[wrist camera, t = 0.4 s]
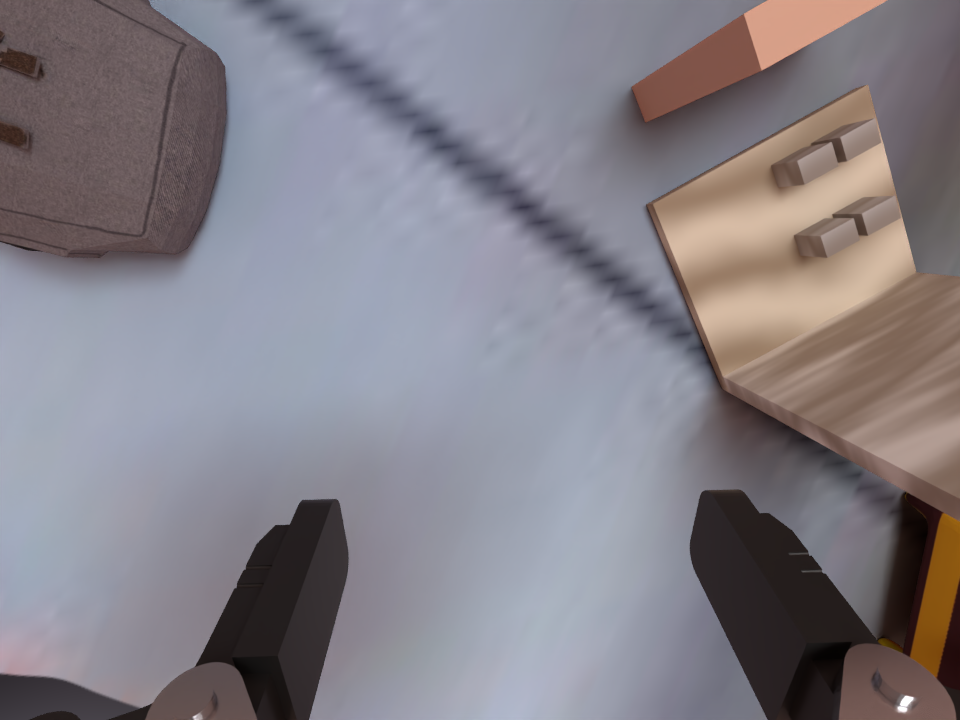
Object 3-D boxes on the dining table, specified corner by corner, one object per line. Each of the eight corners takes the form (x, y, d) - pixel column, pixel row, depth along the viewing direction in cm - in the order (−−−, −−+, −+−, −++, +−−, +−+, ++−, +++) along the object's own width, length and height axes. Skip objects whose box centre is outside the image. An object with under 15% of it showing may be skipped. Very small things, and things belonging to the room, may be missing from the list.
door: (625, 71, 33) (736, -11, 21) (792, -24, 32) (998, -160, 21) (645, 122, 33) (761, 70, 22) (807, 31, 33) (1013, -71, 22)
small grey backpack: (259, 43, 30) (-131, -111, 26) (199, -22, 22) (-372, -256, 18) (206, 284, 33) (-148, 177, 30) (137, 304, 25) (-359, 160, 22)
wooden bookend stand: (646, 204, 35) (920, 182, 16) (855, 88, 34) (1404, -82, 15) (722, 388, 39) (1008, 548, 20) (908, 288, 39) (1386, 354, 19)
